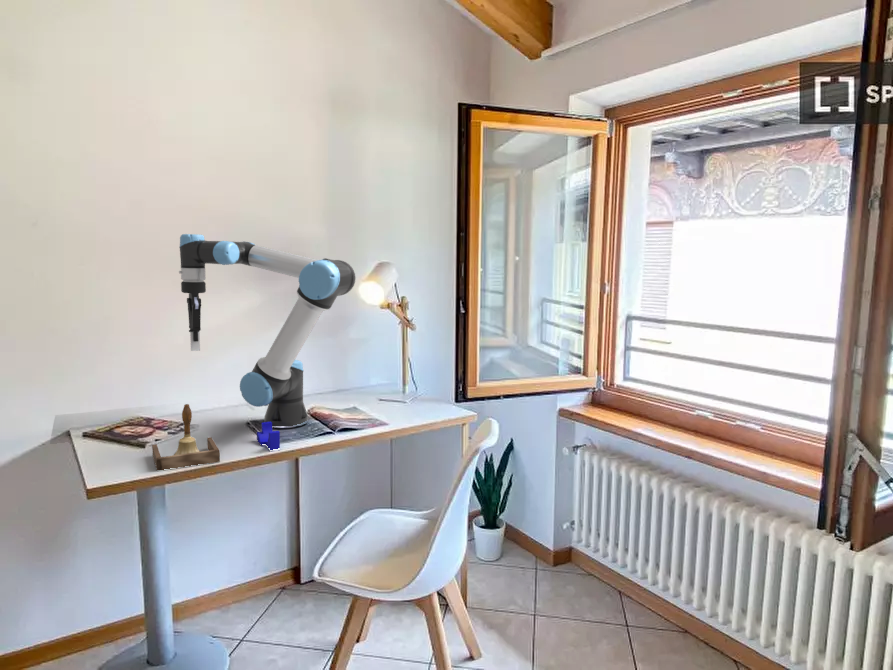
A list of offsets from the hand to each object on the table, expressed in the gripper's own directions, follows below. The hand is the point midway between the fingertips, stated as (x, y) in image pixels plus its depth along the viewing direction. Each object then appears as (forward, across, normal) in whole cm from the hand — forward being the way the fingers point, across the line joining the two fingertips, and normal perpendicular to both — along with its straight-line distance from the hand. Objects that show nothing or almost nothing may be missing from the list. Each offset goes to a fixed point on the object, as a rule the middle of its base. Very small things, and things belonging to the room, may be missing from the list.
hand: (195, 350), depth 199 cm
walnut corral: (+26, +32, -8) cm, 42 cm away
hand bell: (+27, +31, -7) cm, 41 cm away
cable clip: (+27, +31, +16) cm, 44 cm away
